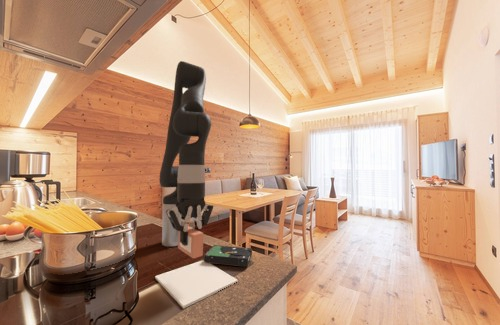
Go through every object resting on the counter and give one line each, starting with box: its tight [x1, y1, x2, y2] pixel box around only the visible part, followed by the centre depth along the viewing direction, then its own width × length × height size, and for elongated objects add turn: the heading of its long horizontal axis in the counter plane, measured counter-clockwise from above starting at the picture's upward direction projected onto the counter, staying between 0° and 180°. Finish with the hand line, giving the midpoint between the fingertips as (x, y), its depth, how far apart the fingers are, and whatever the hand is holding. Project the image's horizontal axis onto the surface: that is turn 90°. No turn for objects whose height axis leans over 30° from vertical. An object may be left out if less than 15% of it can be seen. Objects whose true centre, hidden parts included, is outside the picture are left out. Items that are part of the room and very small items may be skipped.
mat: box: [154, 259, 239, 310], centre depth 57 cm, size 18×16×1 cm
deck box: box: [177, 225, 204, 259], centre depth 57 cm, size 9×3×6 cm, turn 44°
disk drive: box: [203, 244, 253, 267], centre depth 71 cm, size 10×3×15 cm
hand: (190, 243), depth 56 cm, fingers closed on deck box, 3 cm apart
